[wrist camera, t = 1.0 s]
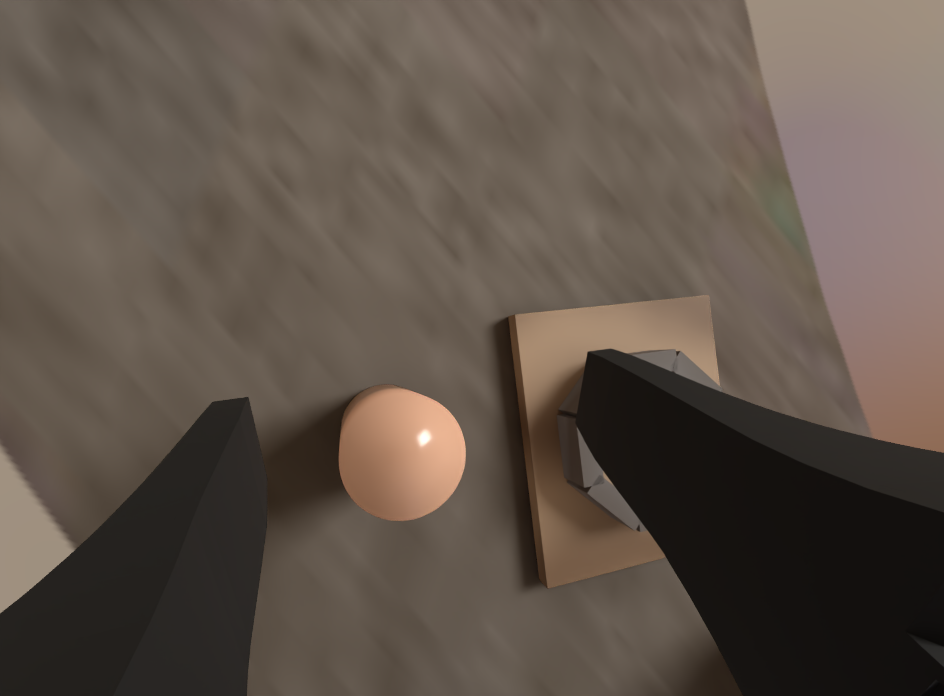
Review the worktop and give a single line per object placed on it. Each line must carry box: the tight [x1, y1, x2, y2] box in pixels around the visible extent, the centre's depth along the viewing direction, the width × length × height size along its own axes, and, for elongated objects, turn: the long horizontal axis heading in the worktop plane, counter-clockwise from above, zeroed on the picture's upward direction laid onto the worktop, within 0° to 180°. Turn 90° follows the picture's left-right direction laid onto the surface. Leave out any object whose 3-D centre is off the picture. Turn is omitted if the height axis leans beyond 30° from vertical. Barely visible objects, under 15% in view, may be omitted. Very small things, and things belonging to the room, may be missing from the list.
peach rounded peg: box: [339, 384, 466, 521], centre depth 19 cm, size 4×4×7 cm
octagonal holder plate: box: [508, 295, 723, 589], centre depth 24 cm, size 13×11×3 cm
